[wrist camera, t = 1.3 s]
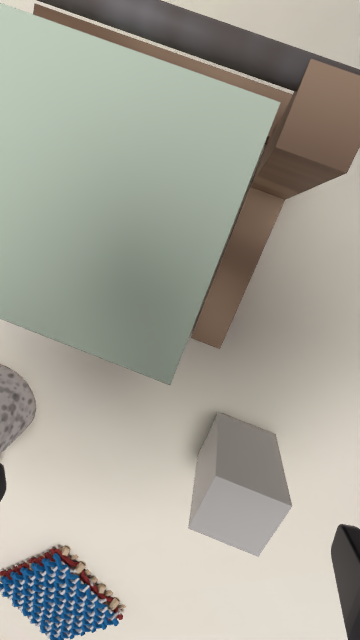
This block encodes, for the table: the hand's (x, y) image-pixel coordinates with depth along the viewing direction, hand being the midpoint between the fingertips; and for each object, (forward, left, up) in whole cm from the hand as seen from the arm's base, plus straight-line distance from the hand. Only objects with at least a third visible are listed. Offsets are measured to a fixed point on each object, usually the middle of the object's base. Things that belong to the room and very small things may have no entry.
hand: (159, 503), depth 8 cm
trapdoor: (+6, -6, -4) cm, 10 cm away
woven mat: (+3, +33, -14) cm, 36 cm away
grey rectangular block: (-6, +8, -13) cm, 16 cm away
